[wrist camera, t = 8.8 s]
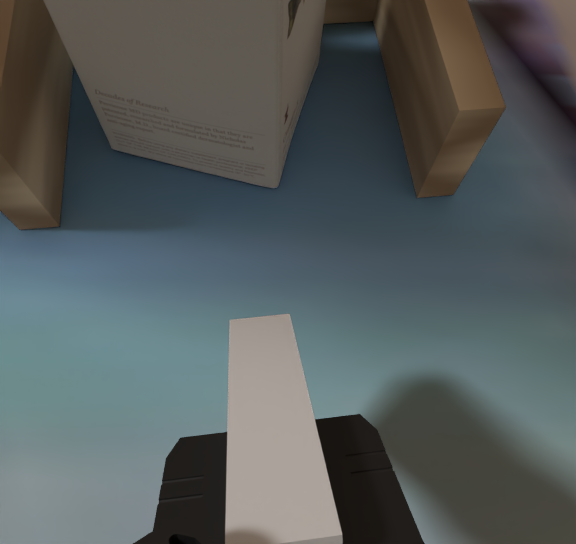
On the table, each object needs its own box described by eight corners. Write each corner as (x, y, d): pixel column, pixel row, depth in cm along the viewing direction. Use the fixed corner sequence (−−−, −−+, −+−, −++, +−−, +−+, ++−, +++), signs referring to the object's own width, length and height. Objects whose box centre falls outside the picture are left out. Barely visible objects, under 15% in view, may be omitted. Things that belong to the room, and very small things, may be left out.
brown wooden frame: (19, 229, 19) (-90, 117, 13) (45, 16, 24) (-28, -135, 18) (453, 194, 20) (523, 77, 14) (397, -3, 25) (434, -150, 19)
